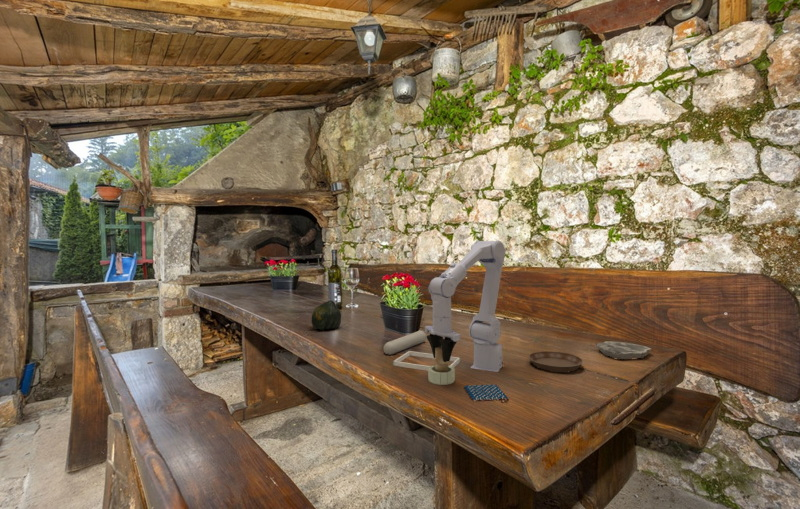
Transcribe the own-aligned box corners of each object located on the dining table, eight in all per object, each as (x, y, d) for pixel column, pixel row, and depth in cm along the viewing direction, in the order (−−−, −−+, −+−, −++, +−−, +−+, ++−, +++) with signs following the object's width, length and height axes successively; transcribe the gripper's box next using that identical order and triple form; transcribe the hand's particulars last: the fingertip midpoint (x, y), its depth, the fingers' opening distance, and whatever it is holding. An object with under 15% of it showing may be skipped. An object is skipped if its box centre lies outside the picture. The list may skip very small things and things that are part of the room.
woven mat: (510, 404, 106) (510, 397, 105) (472, 406, 105) (472, 398, 105) (497, 390, 116) (497, 383, 116) (462, 391, 115) (462, 384, 115)
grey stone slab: (616, 346, 163) (616, 339, 163) (658, 357, 148) (658, 349, 147) (584, 352, 154) (584, 344, 154) (625, 364, 139) (625, 356, 139)
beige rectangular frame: (460, 363, 139) (460, 357, 139) (447, 375, 127) (447, 369, 127) (409, 356, 148) (409, 350, 148) (392, 366, 135) (392, 361, 135)
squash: (301, 318, 193) (316, 297, 187) (323, 314, 205) (337, 295, 199) (316, 340, 187) (331, 319, 181) (337, 335, 199) (352, 315, 193)
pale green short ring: (457, 379, 123) (457, 367, 123) (449, 388, 116) (449, 374, 116) (433, 375, 127) (433, 363, 126) (424, 383, 119) (424, 371, 119)
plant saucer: (527, 371, 132) (527, 362, 132) (530, 356, 148) (530, 348, 148) (584, 377, 125) (584, 368, 125) (580, 361, 142) (581, 353, 142)
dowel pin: (449, 372, 122) (449, 347, 122) (445, 376, 118) (445, 351, 118) (437, 371, 124) (437, 346, 124) (433, 375, 120) (433, 349, 120)
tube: (392, 347, 147) (428, 333, 167) (382, 340, 150) (418, 328, 170) (389, 359, 148) (424, 344, 168) (379, 352, 151) (415, 339, 171)
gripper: (417, 313, 124) (417, 355, 125) (447, 321, 112) (447, 368, 113) (434, 311, 128) (434, 352, 129) (465, 318, 116) (465, 363, 117)
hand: (441, 359), depth 121 cm, fingers closed on dowel pin, 4 cm apart
